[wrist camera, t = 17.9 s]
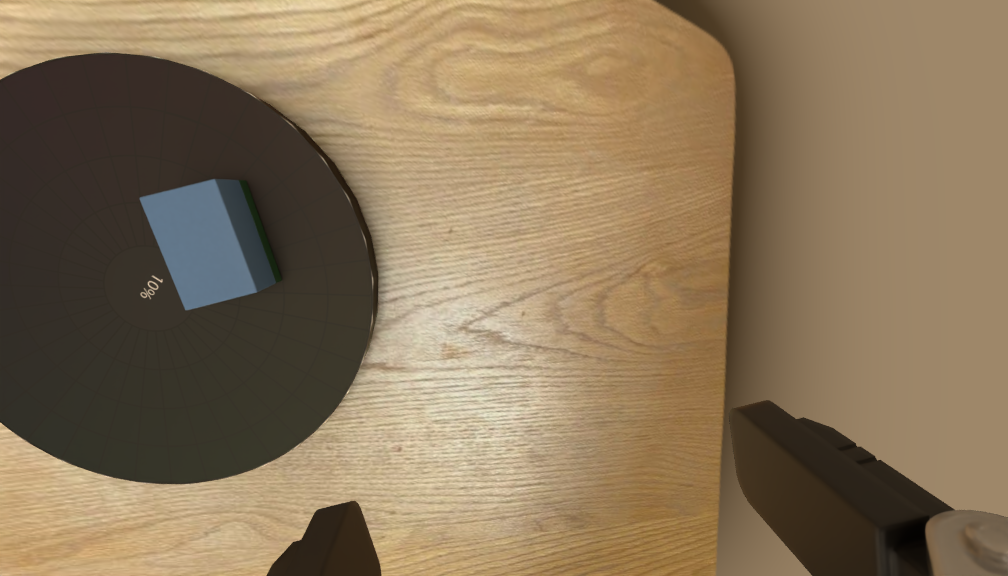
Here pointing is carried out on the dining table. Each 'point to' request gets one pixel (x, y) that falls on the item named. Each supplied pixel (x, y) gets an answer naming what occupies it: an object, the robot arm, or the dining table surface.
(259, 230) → the sponge
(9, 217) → the disc
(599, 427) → the dining table surface
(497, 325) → the dining table surface
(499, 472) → the dining table surface
